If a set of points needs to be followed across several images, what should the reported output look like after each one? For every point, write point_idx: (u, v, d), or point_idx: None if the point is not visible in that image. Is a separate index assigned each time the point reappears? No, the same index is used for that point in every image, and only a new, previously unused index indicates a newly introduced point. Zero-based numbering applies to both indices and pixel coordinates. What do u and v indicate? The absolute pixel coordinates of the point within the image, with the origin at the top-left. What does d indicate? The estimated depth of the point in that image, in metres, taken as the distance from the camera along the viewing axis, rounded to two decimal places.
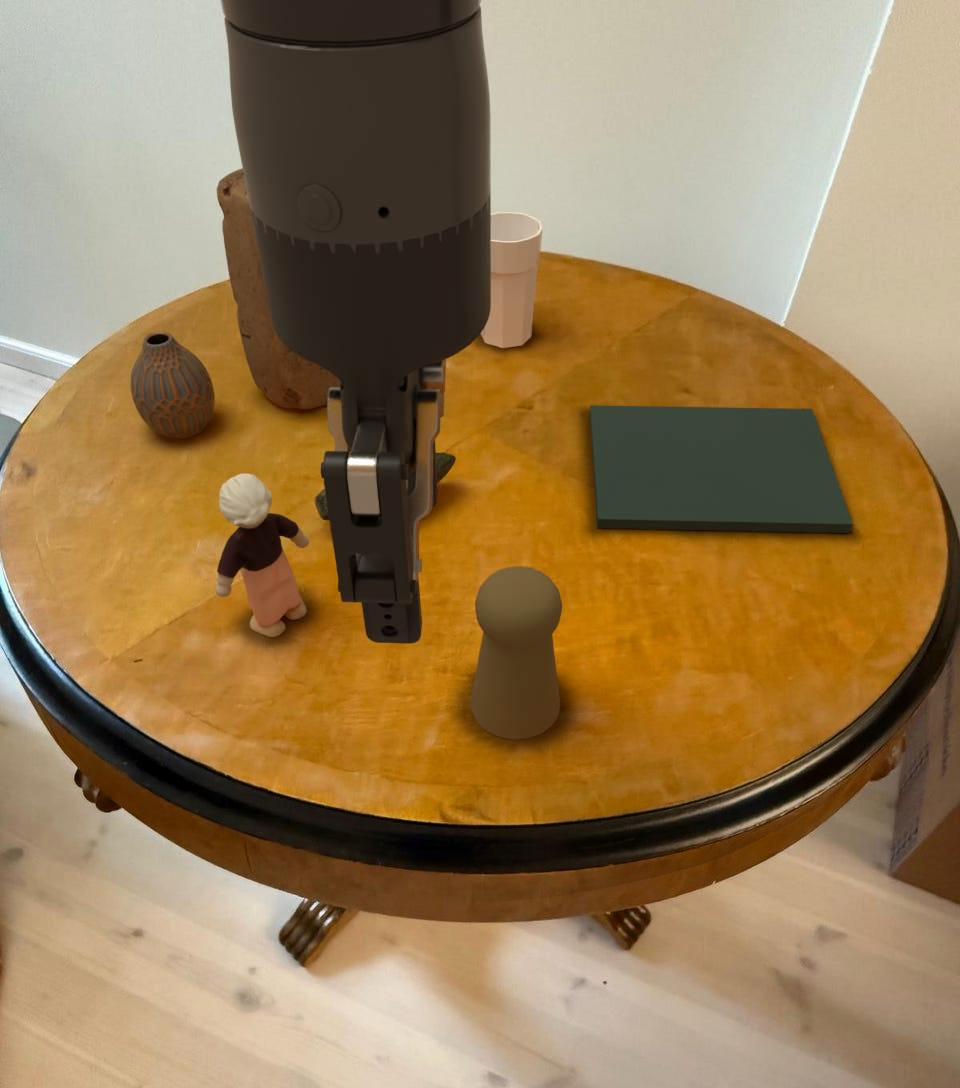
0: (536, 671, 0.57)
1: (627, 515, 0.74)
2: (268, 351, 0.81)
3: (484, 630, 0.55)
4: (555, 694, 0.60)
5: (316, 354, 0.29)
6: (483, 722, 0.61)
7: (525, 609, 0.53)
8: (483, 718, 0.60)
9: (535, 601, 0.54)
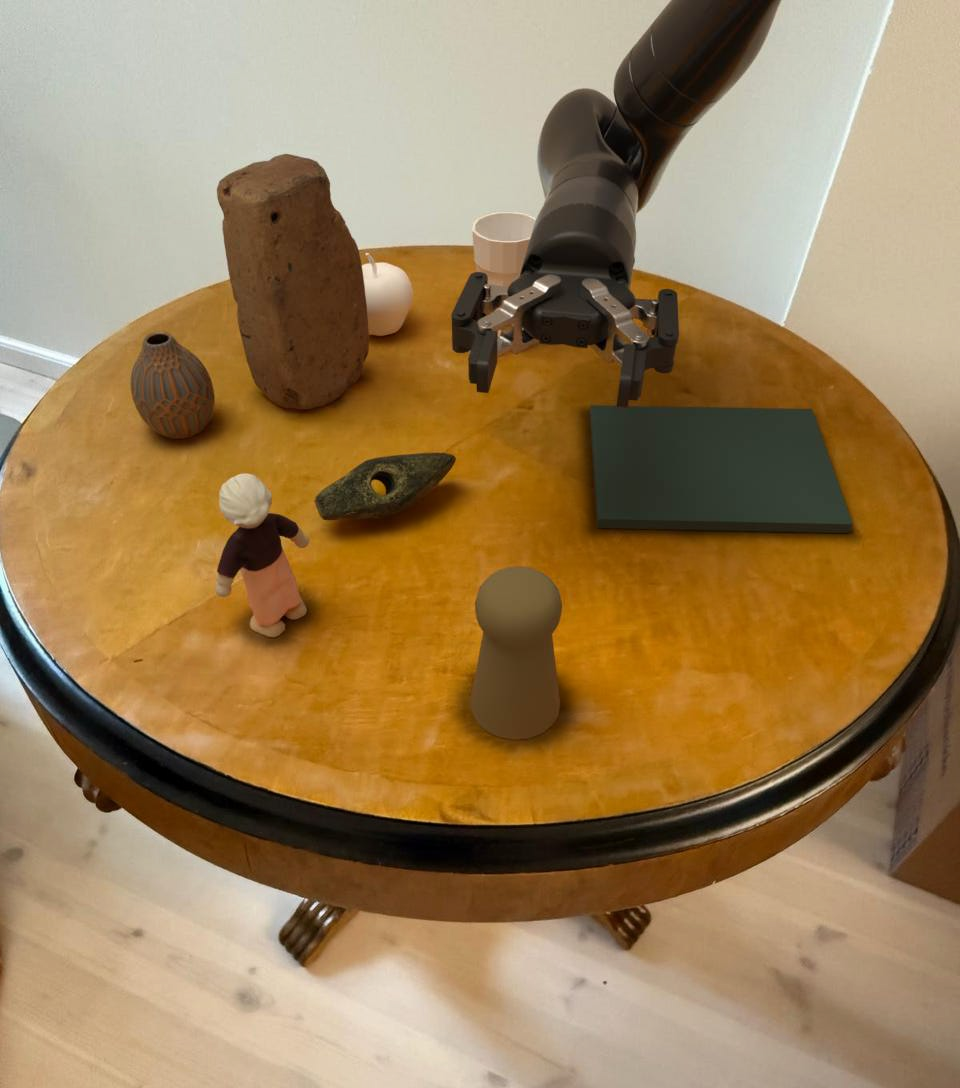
0: (536, 671, 0.57)
1: (627, 515, 0.74)
2: (268, 351, 0.81)
3: (484, 630, 0.55)
4: (555, 694, 0.60)
5: None
6: (483, 722, 0.61)
7: (524, 609, 0.53)
8: (483, 718, 0.60)
9: (535, 601, 0.54)
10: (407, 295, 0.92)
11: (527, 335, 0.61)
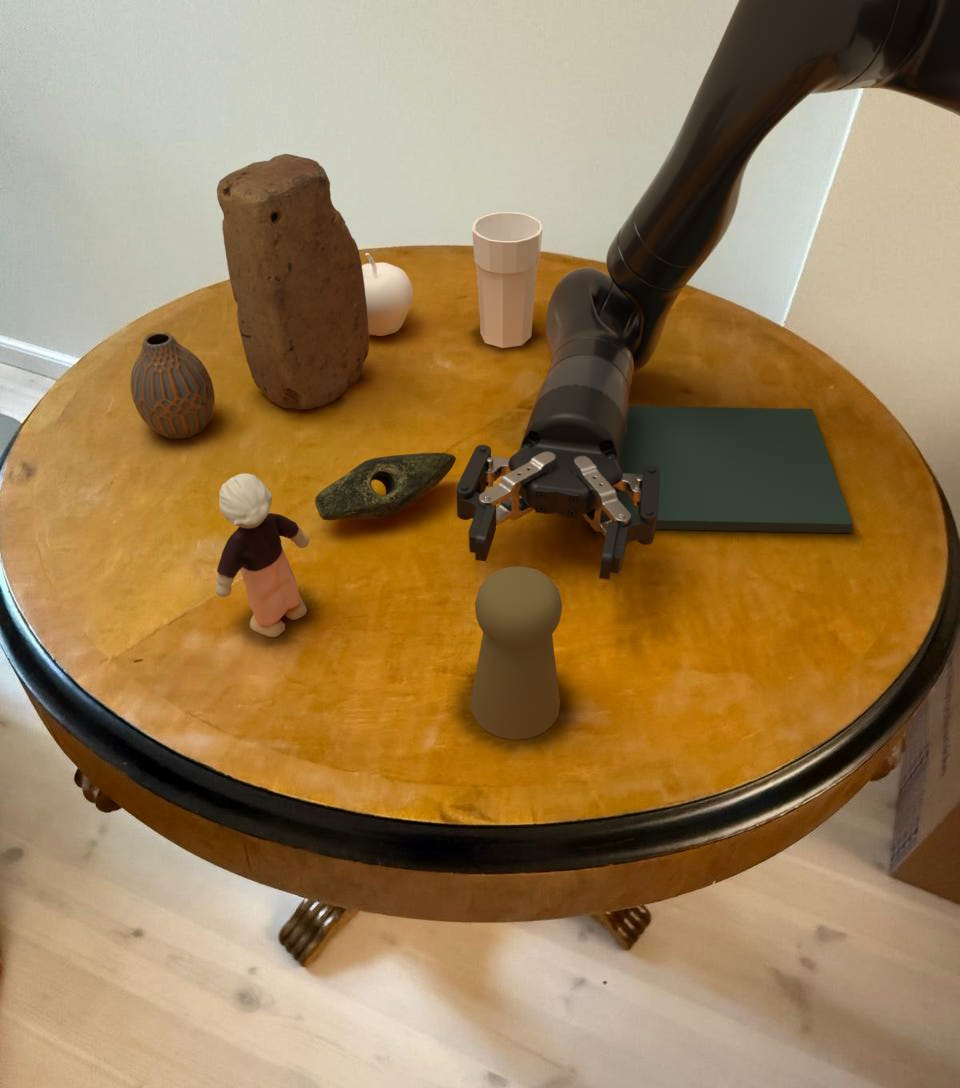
0: (536, 671, 0.57)
1: None
2: (268, 351, 0.81)
3: (484, 630, 0.55)
4: (555, 694, 0.60)
5: None
6: (483, 722, 0.61)
7: (524, 609, 0.53)
8: (483, 718, 0.60)
9: (535, 601, 0.54)
10: (407, 295, 0.92)
11: (525, 503, 0.68)
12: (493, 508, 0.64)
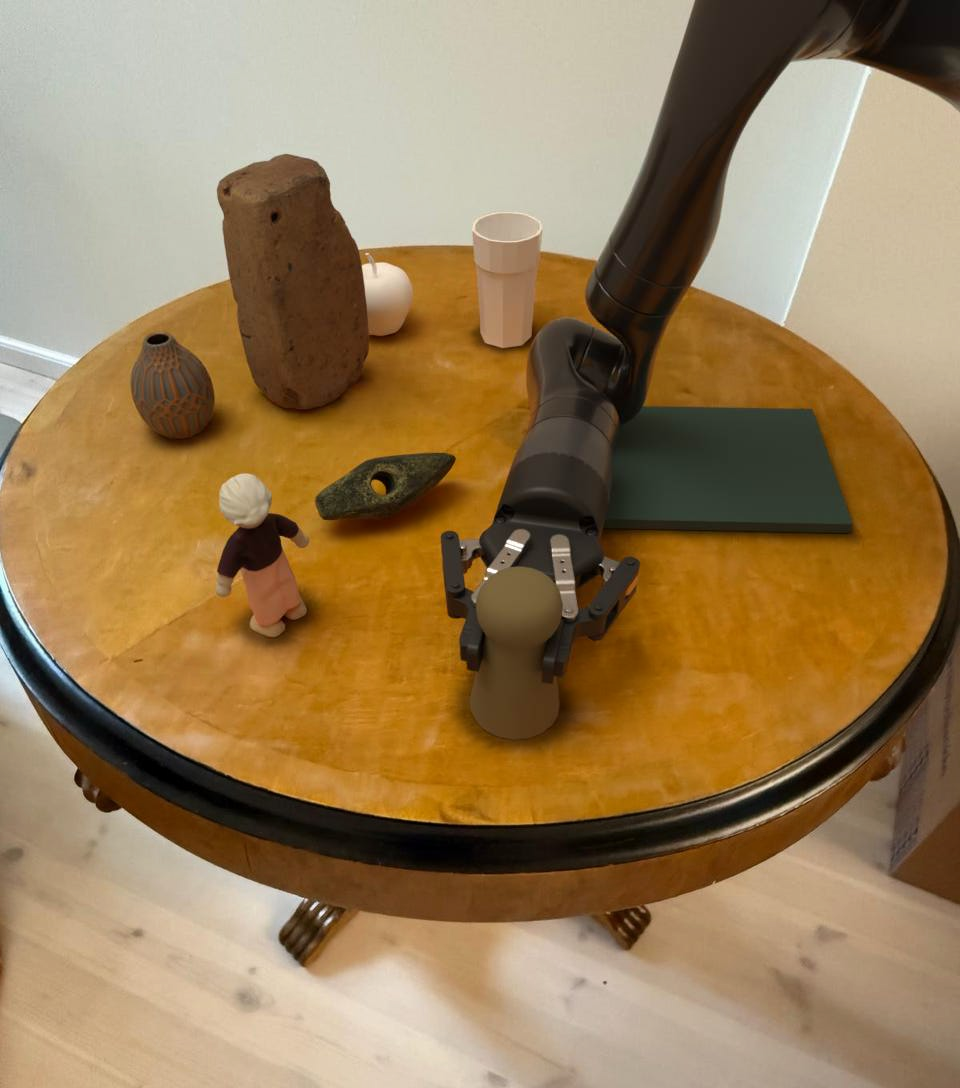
0: (536, 672, 0.57)
1: (627, 515, 0.74)
2: (268, 351, 0.81)
3: (485, 630, 0.55)
4: (555, 694, 0.60)
5: None
6: (482, 722, 0.61)
7: (525, 610, 0.53)
8: (483, 718, 0.60)
9: (536, 602, 0.53)
10: (407, 295, 0.92)
11: None
12: None
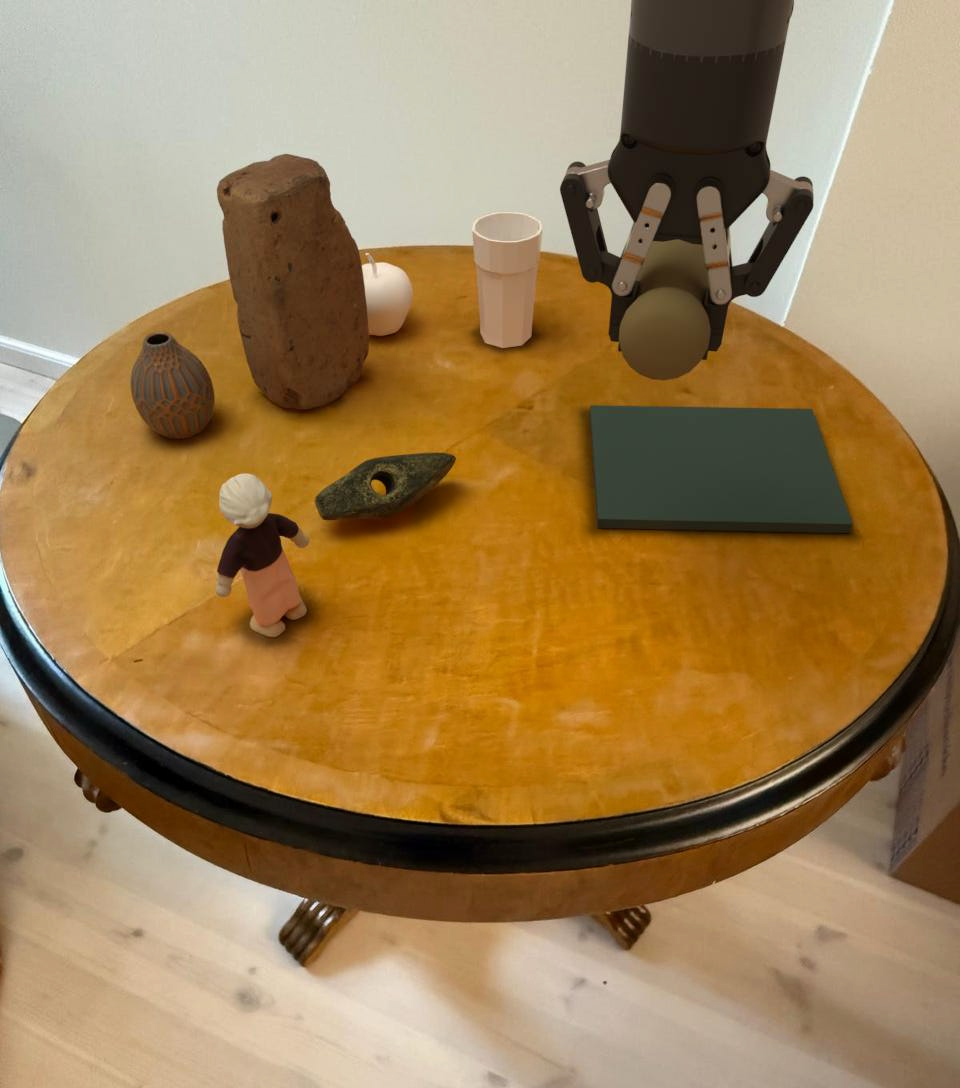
0: None
1: (627, 515, 0.74)
2: (268, 351, 0.81)
3: None
4: None
5: None
6: None
7: (669, 374, 0.54)
8: None
9: (679, 365, 0.53)
10: (407, 295, 0.92)
11: None
12: (632, 302, 0.54)
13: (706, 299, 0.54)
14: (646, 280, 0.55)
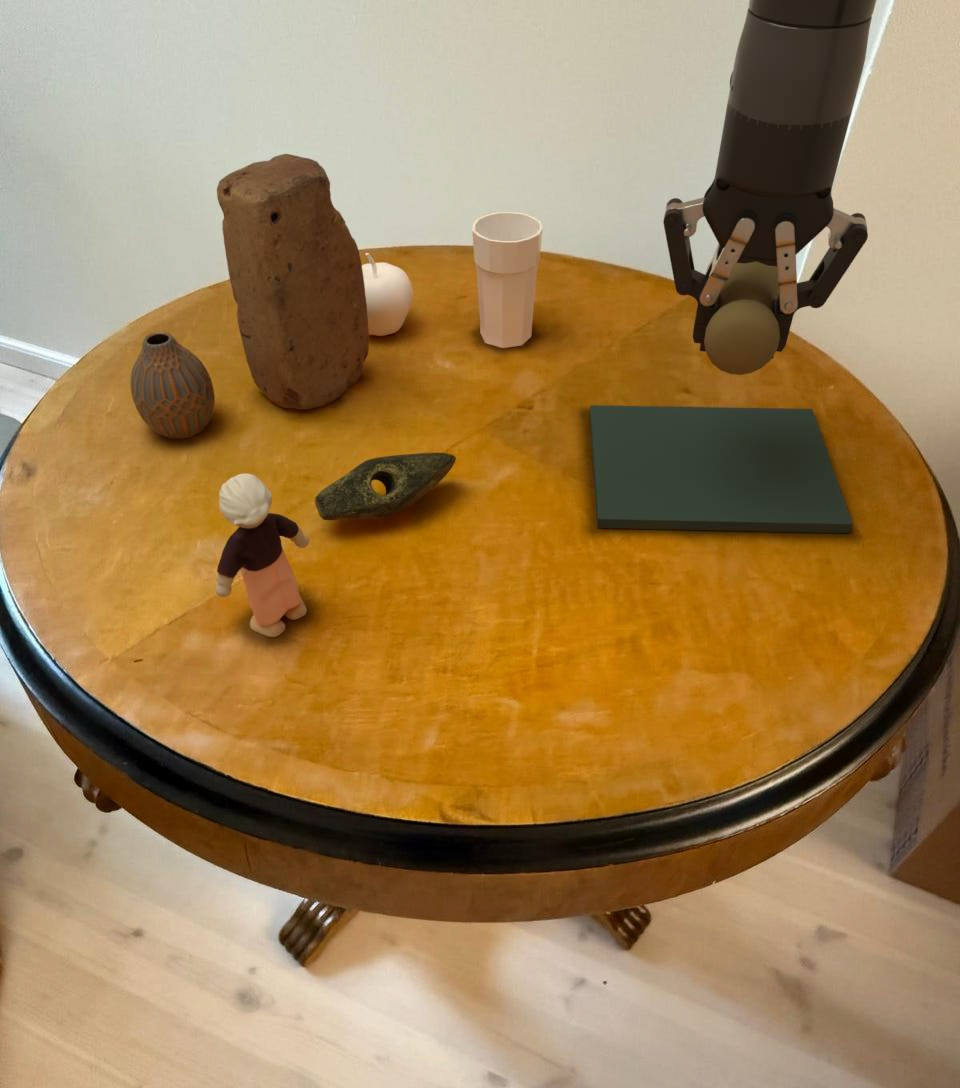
0: None
1: (627, 515, 0.74)
2: (268, 351, 0.81)
3: None
4: None
5: None
6: None
7: (746, 370, 0.66)
8: None
9: (754, 363, 0.66)
10: (407, 295, 0.92)
11: None
12: (714, 311, 0.67)
13: (775, 309, 0.66)
14: (726, 293, 0.67)
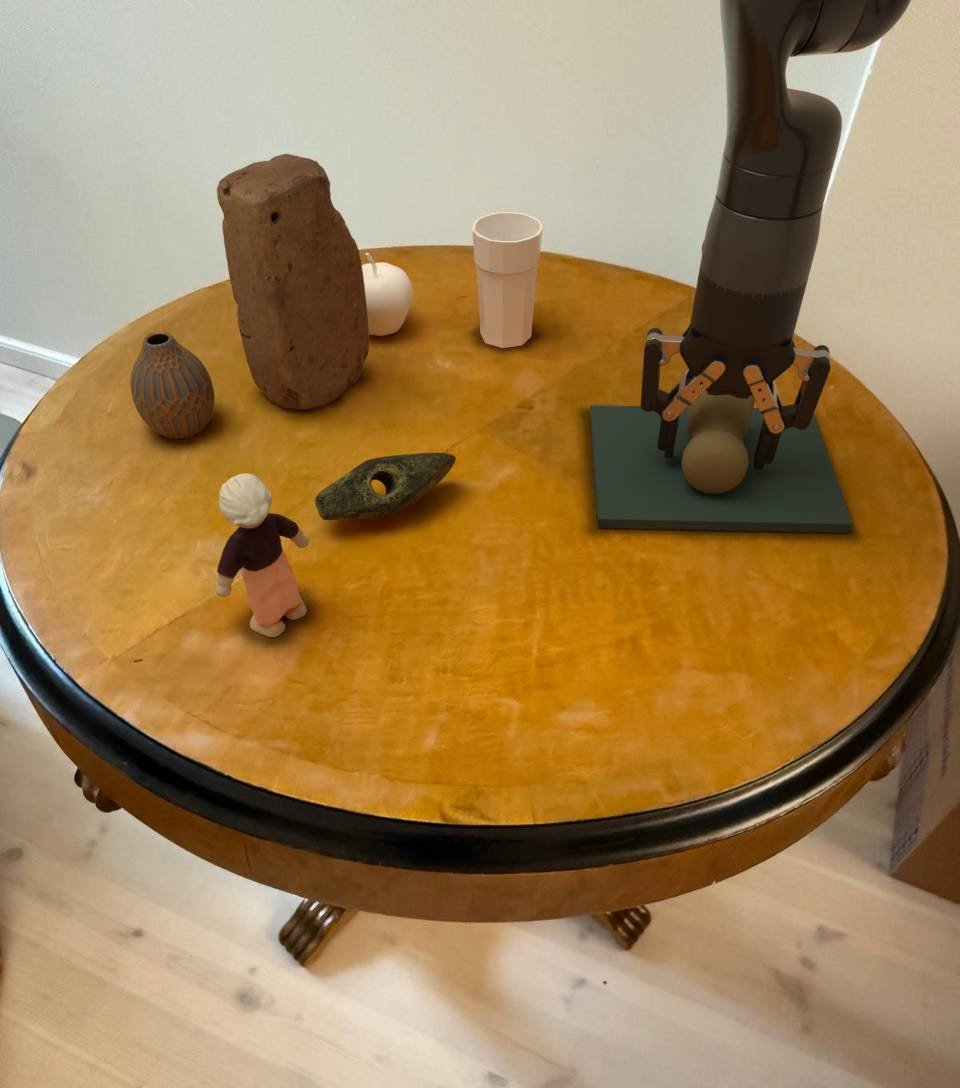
0: None
1: (627, 515, 0.74)
2: (268, 351, 0.81)
3: None
4: None
5: None
6: None
7: (718, 491, 0.74)
8: None
9: (726, 486, 0.74)
10: (407, 295, 0.92)
11: None
12: (676, 425, 0.75)
13: (764, 428, 0.74)
14: (701, 419, 0.75)
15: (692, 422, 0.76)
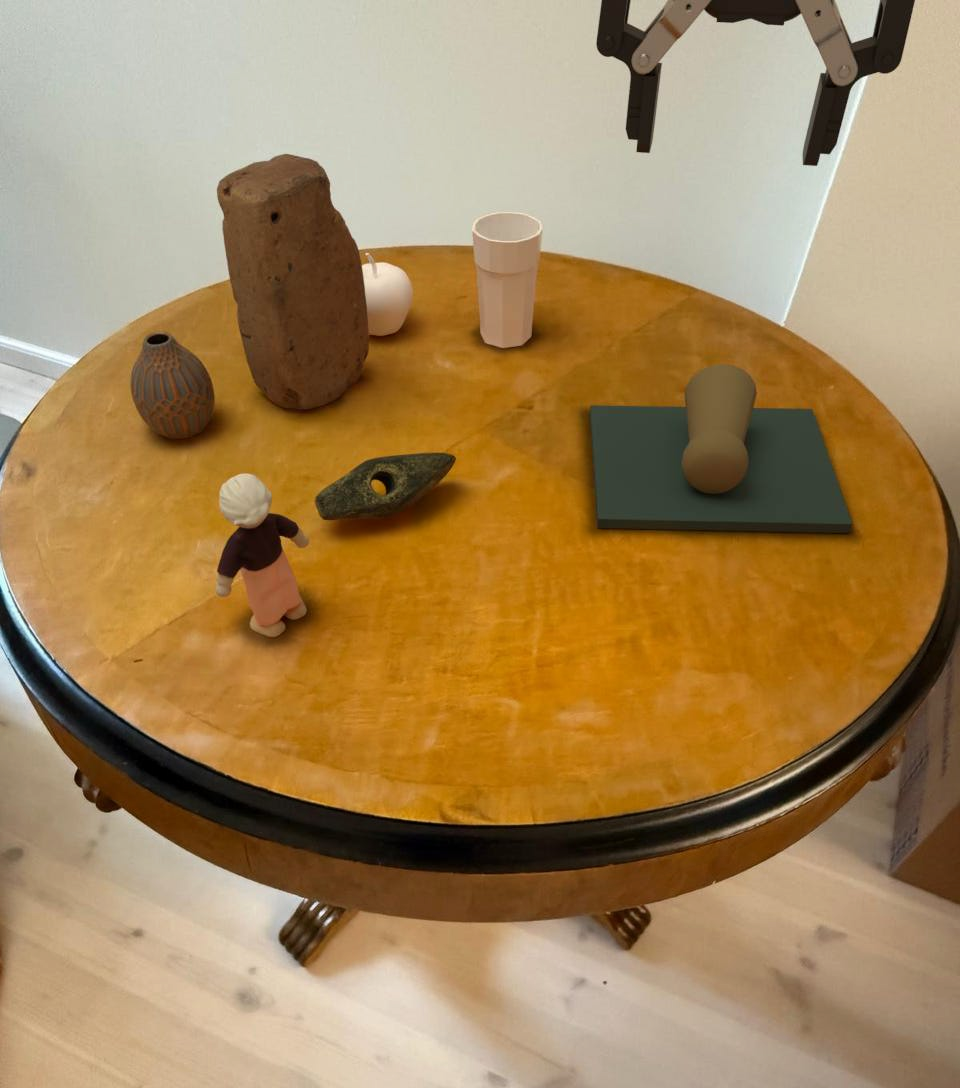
0: None
1: (627, 515, 0.74)
2: (268, 351, 0.81)
3: None
4: None
5: None
6: None
7: (718, 491, 0.74)
8: None
9: (726, 486, 0.74)
10: (407, 295, 0.92)
11: None
12: (654, 83, 0.46)
13: (823, 83, 0.45)
14: (701, 419, 0.75)
15: (692, 422, 0.76)
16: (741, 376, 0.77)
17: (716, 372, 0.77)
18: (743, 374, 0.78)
